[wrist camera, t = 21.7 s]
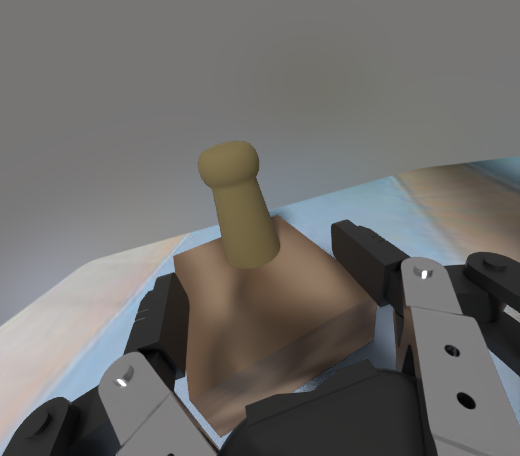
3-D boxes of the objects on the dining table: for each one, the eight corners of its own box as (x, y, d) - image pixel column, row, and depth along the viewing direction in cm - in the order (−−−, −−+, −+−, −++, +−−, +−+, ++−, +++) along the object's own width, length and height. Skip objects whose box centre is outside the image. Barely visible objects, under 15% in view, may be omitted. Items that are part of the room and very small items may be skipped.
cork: (227, 239, 26) (195, 145, 21) (277, 229, 26) (257, 131, 20) (222, 274, 21) (177, 160, 15) (284, 262, 20) (261, 141, 15)
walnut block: (284, 250, 32) (277, 214, 29) (373, 340, 19) (378, 292, 16) (191, 291, 28) (173, 256, 25) (220, 437, 15) (189, 400, 12)
